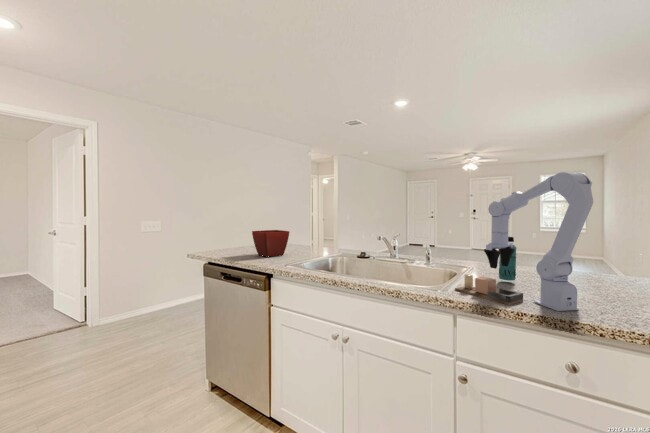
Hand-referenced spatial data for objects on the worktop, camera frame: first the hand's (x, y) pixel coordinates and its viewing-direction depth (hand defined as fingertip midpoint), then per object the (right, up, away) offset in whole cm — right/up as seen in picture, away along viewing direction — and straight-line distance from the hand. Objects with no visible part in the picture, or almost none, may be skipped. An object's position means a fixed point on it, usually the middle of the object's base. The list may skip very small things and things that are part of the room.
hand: (499, 267), depth 120 cm
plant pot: (-105, -7, +89) cm, 138 cm away
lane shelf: (-8, -10, -6) cm, 14 cm away
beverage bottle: (+11, -9, +13) cm, 19 cm away
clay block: (-10, -8, -3) cm, 13 cm away
